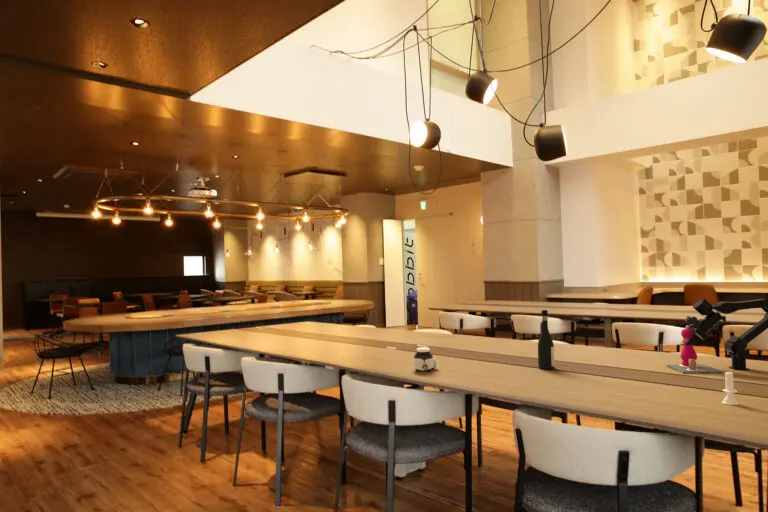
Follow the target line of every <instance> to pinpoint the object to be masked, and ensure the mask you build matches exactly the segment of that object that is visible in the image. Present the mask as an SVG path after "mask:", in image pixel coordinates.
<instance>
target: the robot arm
mask: <svg viewBox="0 0 768 512" xmlns="http://www.w3.org/2000/svg"><path fill="white" fill-rule="evenodd" d="M692 308H693V309H694V310H695V311H696V312H697V313H698V314H699V315H701V316H702V317H703V316H704V317H703V318H700V319H698V318H697V316H694V315H693V316H692V317H691V316H689V315H687V316H686V318H685V320H684V322H686V323H688V324H689V325H688V326H689V327H690V328H689V329H692V330H693V331H694V332H695V333H694V332H693V331H692V337H691V338H690V339H689V340H688V342H687V343H686V345H687V346H689V345H692V344H693V345H694V344H698V343H701V342H704V341H706V340H707V339H708V338H709V335H708V333H709V331H711V330H713V329H714V327H715V326H716V325H717V324H719V322H721V321H722V322H724V323H727V320H726V319H727V316H725V315H729V314H733V313H735V312H737V311H742V310H750V309H758V308H759V309H760V308H761V310H763V312H765V314H764V316H763V318H761V319H760V320H759V321H758V322H756V323H755V324H754V325H752V326H751V327H750V328H749V329H746V331H745V332H743V333H742V334H741V335H740V336H736V335H731V336H730V338H728V339H726V340H725V343H724V349H725V351H727V353H728V355H729V356H731V366H728V368H729V369H732V370H737V371H739V370H740V371H743V370H744V371H745V370H746V371H747V370H748V371H749V370H750V368H749V367H747V358H748V359H749V358H750V357H749V356H750V352H749V351H747V347H748V344H749V343H750V342H752V341H753V340H754V339H756V338H757V337H758V336H760V335H761V334H762V333H764V332H765V331H766V330H767V329H768V299H766V298H758V299H753V300H751V299H750V300H742V301H735V302H734V301H716V303H714V304H711V303H710V302H708V300H707V299H706V298H701V299H699V300H697V302H695V303H693V305H692ZM715 311H716V312H715ZM722 314H724V315H722ZM681 342H682V343H683V344H684V342H683V341H681Z"/></svg>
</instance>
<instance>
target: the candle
mask: <svg viewBox="0 0 768 512" xmlns="http://www.w3.org/2000/svg"><path fill="white" fill-rule="evenodd" d="M724 380H725V381H724V382H725V386H724V387H725V388H724V389H722V391H723V392H724V393H726V396H724V398H723V400H722V401H721V403H722V404H724V405H728V406H737V405H739V402H738V401H737V399H736V398H735V396H734V394H735V393H737V392H738V391H737V390H736V389H735V388H734V380H735V378H734V374H733V372H732V371H726V372H724Z"/></svg>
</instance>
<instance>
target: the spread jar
mask: <svg viewBox="0 0 768 512" xmlns="http://www.w3.org/2000/svg"><path fill="white" fill-rule="evenodd" d="M430 350H431V349H430V347H422V346H421V347H417V348H416V353H415V354H414V356H413V367H414V369H415V371H417V370H418V371H429V372H431V371H432V370H433V369H432V368H435V369H437V367H438V366H439V362H438V360H437V358H436V357H435V356H434V355H433V354H432V353H431V351H430ZM430 370H431V371H430ZM418 371H417V372H418Z"/></svg>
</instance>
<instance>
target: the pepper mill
mask: <svg viewBox="0 0 768 512" xmlns="http://www.w3.org/2000/svg"><path fill="white" fill-rule="evenodd" d="M689 328H690V327H689V325H688V324H687V325H685V328H684V329H682V330H681V333H680V335H681V337H682V341H683V342H684V343H683V342H682V341H681V342H682V343H683V347H682V349H681V352H680V359H681V360H682V361H681V364H682V365H683V366H689V359H695V361H697V360H698V355H697V352H696V349H695V348H694V344H692V345H689V346H687V345H686V343H687V342H688V340H689V339H690V338H691V337H692V331H693V330H692V329H689ZM693 332H694V331H693ZM694 333H695V332H694Z"/></svg>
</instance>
